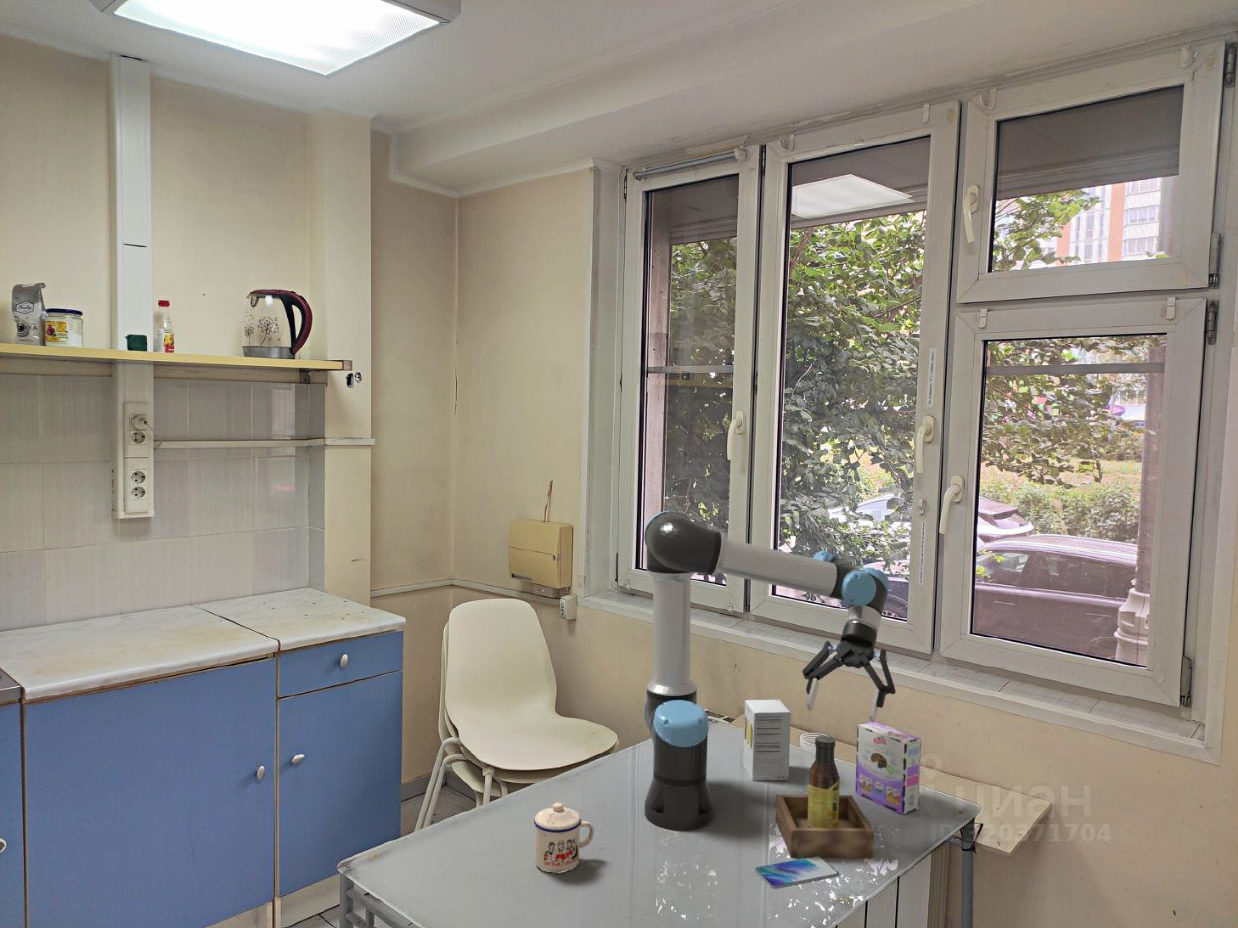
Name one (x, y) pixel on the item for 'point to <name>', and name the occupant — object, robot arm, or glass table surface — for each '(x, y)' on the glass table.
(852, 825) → the walled box
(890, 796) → the candy box
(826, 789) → the sauce bottle
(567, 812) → the teacup with lid
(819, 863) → the smartphone
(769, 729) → the supplement box
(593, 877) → the glass table surface
